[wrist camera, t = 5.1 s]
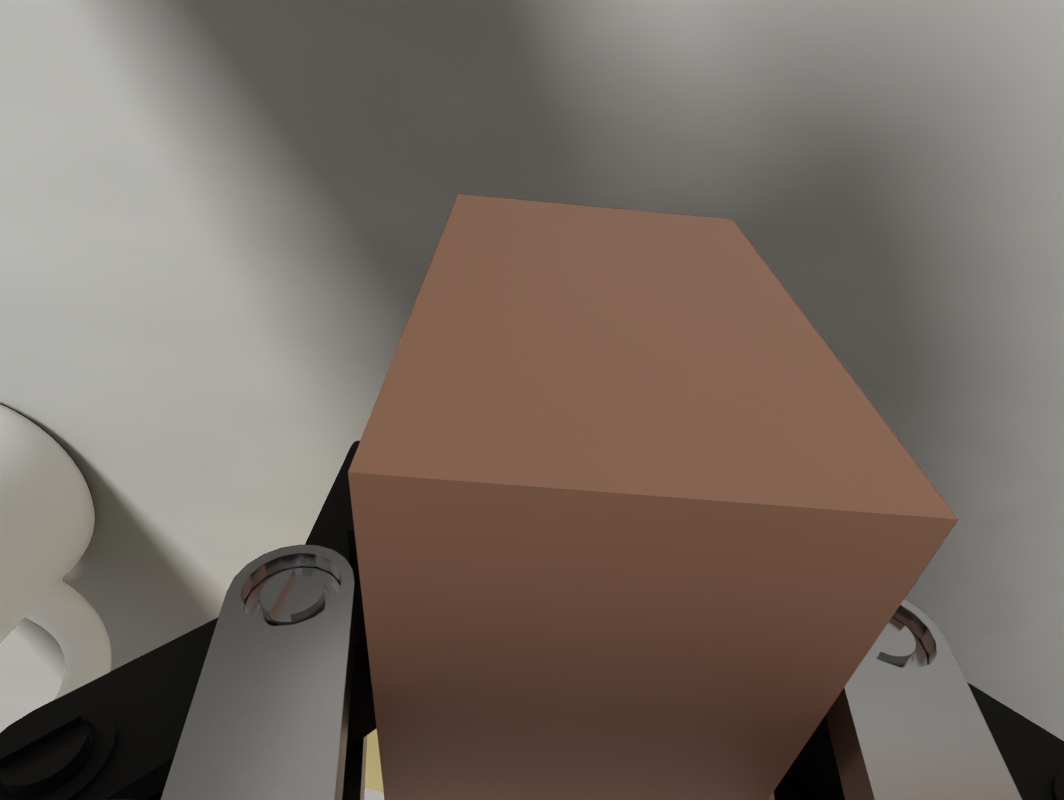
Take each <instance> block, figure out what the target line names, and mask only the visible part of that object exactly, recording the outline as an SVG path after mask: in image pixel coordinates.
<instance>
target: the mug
mask: <svg viewBox="0 0 1064 800" xmlns="http://www.w3.org/2000/svg"><path fill="white" fill-rule="evenodd" d="M94 523H95V513H94V506H93V501H92V497H91V494H90V491H89V488H88V485H87V483H86V481H85V479H84V477H83V475H82V473H81V471H80V470H79V468H78V467H77V465H76V464H75V463H74V461H73V460H72V458H71V457H70V456H69V455H68V454H67V452H66V451H65V450H64V449H63V448H62V447H61V446H60V445H59V444H58V443H57V442H56V441H55V440H54V439H53V438H52V437H51V436H50V435H48V434H47V433H46V432H45V431H44V430H42V429H41V428H40V427H39V426H37V425H36V424H34V423H33V422H31V421H30V420H28V419H27V418H25V417H24V416H22V415H20V414H18V413H17V412H15V411H13V410H11V409H9V408H7V407H5V406H3V405H1V404H0V643H1V642H2V641H3V640H4V639H5V638H6V637H7V636H8V635H9V634H10V632H11V631H12V630H13V629H14V628H15V627H16V626H17V625H18V624H19V623H20V622H21V621H22V620H23V619H24V618H27V619H29V620H31V621H32V622H34V623H36V624H37V625H39V626H41V627H42V628H44V629H45V630H46V631H47V632H49V633H50V634H51V635H52V636H53V637H54V638H55V639H56V640H57V642H58V643H59V645H60V647H61V648H62V650H63V654H64V657H65V672H64V679H63V682H62V684H61V687H60V690H59V692H58V694H57V696H56V698H55V699H57V698H59V697H61V696H63V695H65V694H67V693H69V692H71V691H73V690H75V689H77V688H79V687H81V686H83V685H85V684H87V683H89V682H91V681H93V680H95V679H97V678H99V677H101V676H103V675H105V674H107V673H109V672H110V671H111V658H112V655H111V647H110V640H109V637H108V634H107V631H106V628H105V626H104V624H103V622H102V620H101V618H100V617H99V615H98V613H97V612H96V611H95V610H94V608H93V607H92V606H91V605H90V604H89V602H87V601H86V600H85V599H84V598H83V597H82V596H81V595H80V594H79V593H78V592H77V591H75V590H74V589H73V588H72V587H70V586H69V585H67V584H66V583H65V582H63V578H64V577H65V575H66V574H67V573H68V572H69V571H70V570H71V569H72V568H73V567H74V566H75V565H76V564H77V562H78V561H79V560H80V558H81V557H82V555H83V554H84V552H85V551H86V549H87V547H88V546H89V543H90V540H91V537H92V534H93V530H94Z"/></svg>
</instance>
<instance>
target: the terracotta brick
mask: <svg viewBox="0 0 1064 800" xmlns="http://www.w3.org/2000/svg"><path fill="white" fill-rule="evenodd" d="M348 477H349V486H350V495H351V504H352V513H353V522H354V531H355V540H356V548H357V557H358V566H359V575H360V584H361V593H362V602H363V611H364V620H365V629H366V638H367V647H368V656H369V665H370V674H371V683H372V692H373V700H374V709H375V718H376V727H377V736H378V745H379V754H380V763H381V772H382V781H383V790H384V799H385V800H768V799H769V797H770V796H771V794H772V793H773V791H774V790H775V789H776V787H777V786H778V784H779V783H780V781H781V780H782V778H783V777H784V775H785V774H786V772H787V771H788V769H789V768H790V766H791V765H792V763H793V762H794V761H795V759H796V758H797V756H798V755H799V753H800V752H801V750H802V749H803V747H804V746H805V744H806V743H807V741H808V740H809V738H810V737H811V735H812V734H813V733H814V731H815V730H816V728H817V727H818V725H819V724H820V722H821V721H822V719H823V718H824V716H825V715H826V713H827V712H828V710H829V709H830V708H831V706H832V705H833V703H834V702H835V700H836V699H837V697H838V696H839V694H840V693H841V691H842V690H843V688H844V687H845V685H846V684H847V682H848V681H849V680H850V678H851V677H852V675H853V674H854V672H855V671H856V669H857V668H858V666H859V665H860V663H861V662H862V660H863V659H864V657H865V656H866V655H867V653H868V652H869V650H870V649H871V647H872V646H873V644H874V643H875V641H876V640H877V638H878V637H879V635H880V634H881V632H882V631H883V629H884V628H885V627H886V625H887V624H888V622H889V621H890V619H891V618H892V616H893V615H894V613H895V612H896V610H897V609H898V607H899V606H900V604H901V603H902V602H903V600H904V599H905V597H906V596H907V594H908V593H909V591H910V590H911V588H912V587H913V585H914V584H915V582H916V581H917V579H918V578H919V576H920V575H921V574H922V572H923V571H924V569H925V568H926V566H927V565H928V563H929V562H930V560H931V559H932V557H933V556H934V554H935V553H936V551H937V550H938V548H939V547H940V546H941V544H942V543H943V541H944V540H945V538H946V537H947V535H948V534H949V532H950V531H951V529H952V528H953V526H954V525H955V523H956V522H957V521H958V518H957V517H956V516H955V514H954V513H953V512H952V510H951V509H950V508H949V506H948V505H947V504H946V502H945V501H944V500H943V498H942V497H941V496H940V494H939V493H938V492H937V490H936V489H935V488H934V486H933V485H932V484H931V482H930V481H929V480H928V478H927V477H926V476H925V474H924V473H923V472H922V470H921V469H920V468H919V466H918V465H917V464H916V462H915V461H914V460H913V458H912V457H911V456H910V454H909V453H908V452H907V450H906V449H905V448H904V447H903V445H902V444H901V443H900V441H899V440H898V439H897V437H896V436H895V435H894V433H893V432H892V431H891V429H890V428H889V427H888V425H887V424H886V423H885V421H884V420H883V419H882V417H881V416H880V415H879V413H878V412H877V411H876V409H875V408H874V407H873V405H872V404H871V403H870V401H869V400H868V399H867V397H866V396H865V395H864V393H863V392H862V391H861V389H860V388H859V387H858V385H857V384H856V383H855V381H854V380H853V379H852V377H851V376H850V375H849V373H848V372H847V371H846V369H845V368H844V367H843V365H842V364H841V363H840V361H839V360H838V359H837V357H836V356H835V355H834V353H833V352H832V351H831V349H830V348H829V347H828V345H827V344H826V343H825V341H824V340H823V339H822V337H821V336H820V335H819V334H818V332H817V331H816V330H815V328H814V327H813V326H812V324H811V323H810V322H809V320H808V319H807V318H806V316H805V315H804V314H803V312H802V311H801V310H800V308H799V307H798V306H797V304H796V303H795V302H794V300H793V299H792V298H791V296H790V295H789V294H788V292H787V291H786V290H785V288H784V287H783V286H782V284H781V283H780V282H779V280H778V279H777V278H776V276H775V275H774V274H773V272H772V271H771V270H770V268H769V267H768V266H767V264H766V263H765V262H764V260H763V259H762V258H761V256H760V255H759V254H758V252H757V251H756V250H755V248H754V247H753V246H752V244H751V243H750V242H749V240H748V239H747V238H746V236H745V235H744V234H743V232H742V231H741V230H740V228H739V227H738V226H737V224H736V223H735V222H734V221H733V219H724V218H713V217H703V216H692V215H681V214H670V213H660V212H649V211H638V210H627V209H616V208H606V207H595V206H584V205H573V204H563V203H552V202H541V201H530V200H519V199H509V198H498V197H487V196H476V195H466V194H458V196H457V198H456V201H455V203H454V206H453V208H452V211H451V213H450V216H449V219H448V221H447V224H446V226H445V229H444V231H443V234H442V236H441V239H440V241H439V244H438V246H437V249H436V251H435V254H434V256H433V259H432V261H431V264H430V266H429V269H428V272H427V274H426V277H425V279H424V282H423V284H422V287H421V289H420V292H419V294H418V297H417V299H416V302H415V304H414V307H413V309H412V312H411V314H410V317H409V319H408V322H407V325H406V327H405V330H404V332H403V335H402V337H401V340H400V342H399V345H398V347H397V350H396V352H395V355H394V357H393V360H392V362H391V365H390V367H389V370H388V372H387V375H386V378H385V380H384V383H383V385H382V388H381V390H380V393H379V395H378V398H377V400H376V403H375V405H374V408H373V410H372V413H371V415H370V418H369V420H368V423H367V425H366V428H365V431H364V433H363V436H362V438H361V441H360V443H359V446H358V448H357V451H356V453H355V456H354V458H353V461H352V463H351V466H350V468H349V471H348Z"/></svg>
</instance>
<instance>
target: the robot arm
mask: <svg viewBox="0 0 1064 800" xmlns="http://www.w3.org/2000/svg"><path fill="white" fill-rule="evenodd" d="M359 443H360V441H355V442H354V443H353V444H352V446H351V448H350V450H349V452H348V454H347V456H346V458H345V460H344V463H343V465H342V467H341V469H340V471H339V473H338V475H337V477H336V480H335V482H334V484H333V486H332V488H331V490H330V492H329V495H328V497H327V499H326V501H325V503H324V505H323V507H322V510H321V512H320V514H319V516H318V518H317V520H316V522H315V524H314V527H313V529H312V531H311V533H310V535H309V537H308V539H307V542H306V544H305V545H295V546H289V547H282V548H279V549H277V550H274V551H271V552H268V553H266V554H263V555H262V556H260V557H258V558H257V559H255V560H254V561H252V562H250V563H249V564H247V565H246V566H245V567H244V568H243V569H242V570H241V571H240V572H239V573H238V574H237V575H236V576H235V577H234V579H233V581H232V583H231V585H230V587H229V589H228V590H227V593H226V596H225V599H224V602H223V605H222V608H221V612H220V615H219V617H218V618H216V619H214V620H212V621H210V622H208V623H206V624H204V625H202V626H200V627H198V628H196V629H194V630H192V631H190V632H188V633H186V634H184V635H182V636H180V637H178V638H176V639H175V640H173V641H171V642H169V643H167V644H165V645H163V646H161V647H159V648H157V649H155V650H153V651H151V652H149V653H147V654H145V655H143V656H141V657H139V658H137V659H135V660H133V661H131V662H129V663H127V664H125V665H123V666H121V667H119V668H117V669H115V670H113V671H111V672H109V673H107V674H105V675H103V676H101V677H99V678H97V679H95V680H93V681H91V682H89V683H87V684H85V685H83V686H81V687H79V688H77V689H75V690H73V691H71V692H69V693H67V694H65V695H63V696H61V697H59V698H57V699H55V700H53V701H51V702H50V703H48V704H46V705H44V706H42V707H40V708H38V709H36V710H34V711H32V712H31V713H29V714H27V715H26V716H24V717H22V718H21V719H19V720H17V721H16V722H14V723H13V724H11V725H9V726H8V727H7V728H6V729H5V730H3V731H2V732H1V733H0V800H364V790H365V772H366V753H367V735H368V734H370V733H371V732H372V731H374V730H375V729H376V728H377V727H376V718H375V709H374V700H373V692H372V683H371V674H370V665H369V656H368V647H367V638H366V629H365V620H364V611H363V602H362V593H361V584H360V575H359V566H358V557H357V548H356V540H355V531H354V522H353V513H352V504H351V495H350V486H349V477H348V471H349V468H350V466H351V463H352V461H353V458H354V456H355V453H356V451H357V448H358V446H359ZM768 800H1064V741H1062V740H1061V739H1059V738H1057V737H1056V736H1054V735H1052V734H1051V733H1049V732H1048V731H1046V730H1044V729H1043V728H1041V727H1039V726H1038V725H1036V724H1034V723H1033V722H1031V721H1030V720H1028V719H1026V718H1025V717H1023V716H1021V715H1020V714H1018V713H1016V712H1015V711H1013V710H1012V709H1010V708H1008V707H1007V706H1005V705H1003V704H1002V703H1000V702H999V701H997V700H995V699H994V698H992V697H990V696H989V695H987V694H985V693H984V692H982V691H981V690H979V689H977V688H976V687H974V686H972V685H971V684H969V683H967V681H966V679H965V677H964V675H963V673H962V671H961V668H960V666H959V664H958V662H957V660H956V658H955V656H954V654H953V651H952V649H951V647H950V645H949V643H948V641H947V639H946V638H945V636H944V635H943V633H942V632H941V630H940V629H939V627H938V626H937V625H936V624H935V623H934V622H933V621H932V620H931V619H930V618H929V617H928V616H927V615H926V614H925V613H924V612H923V611H922V610H920V609H919V608H917V607H916V606H915V605H913V604H912V603H910V602H909V601H907V600H906V599H904V600H903V602H902V603H901V604H900V606H899V607H898V609H897V610H896V612H895V613H894V615H893V616H892V618H891V619H890V621H889V622H888V624H887V625H886V627H885V628H884V629H883V631H882V632H881V634H880V635H879V637H878V638H877V640H876V641H875V643H874V644H873V646H872V647H871V649H870V650H869V652H868V653H867V655H866V656H865V657H864V659H863V660H862V662H861V663H860V665H859V666H858V668H857V669H856V671H855V672H854V674H853V675H852V677H851V678H850V680H849V681H848V682H847V684H846V685H845V687H844V688H843V690H842V691H841V693H840V694H839V696H838V697H837V699H836V700H835V702H834V703H833V705H832V706H831V708H830V709H829V710H828V712H827V713H826V715H825V716H824V718H823V719H822V721H821V722H820V724H819V725H818V727H817V728H816V730H815V731H814V733H813V734H812V735H811V737H810V738H809V740H808V741H807V743H806V744H805V746H804V747H803V749H802V750H801V752H800V753H799V755H798V756H797V758H796V759H795V761H794V762H793V763H792V765H791V766H790V768H789V769H788V771H787V772H786V774H785V775H784V777H783V778H782V780H781V781H780V783H779V784H778V786H777V787H776V789H775V790H774V791H773V793H772V794H771V796H770V797H769V799H768Z"/></svg>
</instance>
